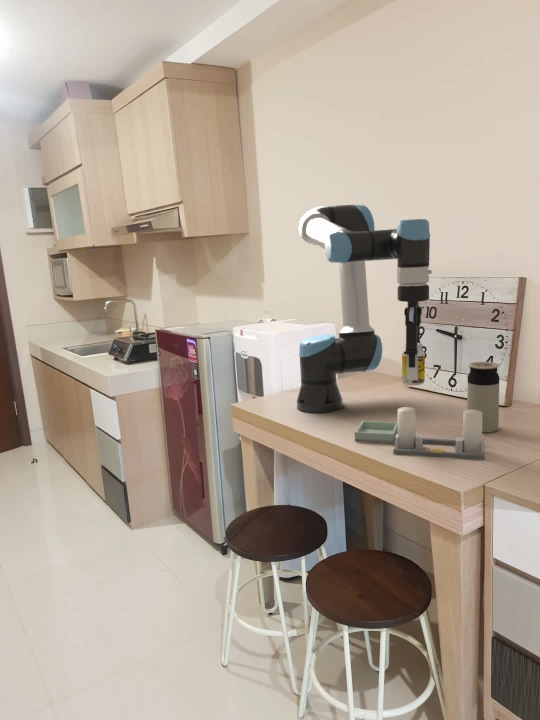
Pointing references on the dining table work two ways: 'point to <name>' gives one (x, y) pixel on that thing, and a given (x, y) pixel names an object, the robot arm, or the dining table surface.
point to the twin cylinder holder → (410, 441)
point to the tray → (376, 431)
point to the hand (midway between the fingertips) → (413, 376)
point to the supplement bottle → (420, 367)
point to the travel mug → (484, 393)
